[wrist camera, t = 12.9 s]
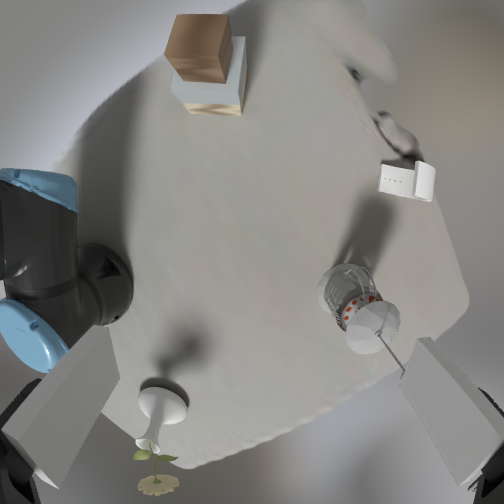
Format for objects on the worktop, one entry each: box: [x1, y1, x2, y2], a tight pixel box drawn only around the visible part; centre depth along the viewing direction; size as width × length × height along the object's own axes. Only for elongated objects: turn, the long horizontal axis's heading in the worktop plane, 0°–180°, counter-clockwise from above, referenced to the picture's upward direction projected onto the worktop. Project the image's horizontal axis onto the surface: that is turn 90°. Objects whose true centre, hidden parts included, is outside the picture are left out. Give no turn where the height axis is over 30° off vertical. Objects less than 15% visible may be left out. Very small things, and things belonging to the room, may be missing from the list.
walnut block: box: [164, 14, 233, 84], centre depth 22 cm, size 5×5×8 cm
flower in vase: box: [132, 387, 188, 496], centre depth 40 cm, size 13×11×25 cm
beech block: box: [182, 61, 247, 116], centre depth 35 cm, size 8×8×6 cm
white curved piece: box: [377, 161, 435, 202], centre depth 35 cm, size 5×6×12 cm
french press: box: [317, 263, 405, 380], centre depth 33 cm, size 10×12×25 cm
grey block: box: [170, 36, 247, 105], centre depth 29 cm, size 8×8×6 cm
